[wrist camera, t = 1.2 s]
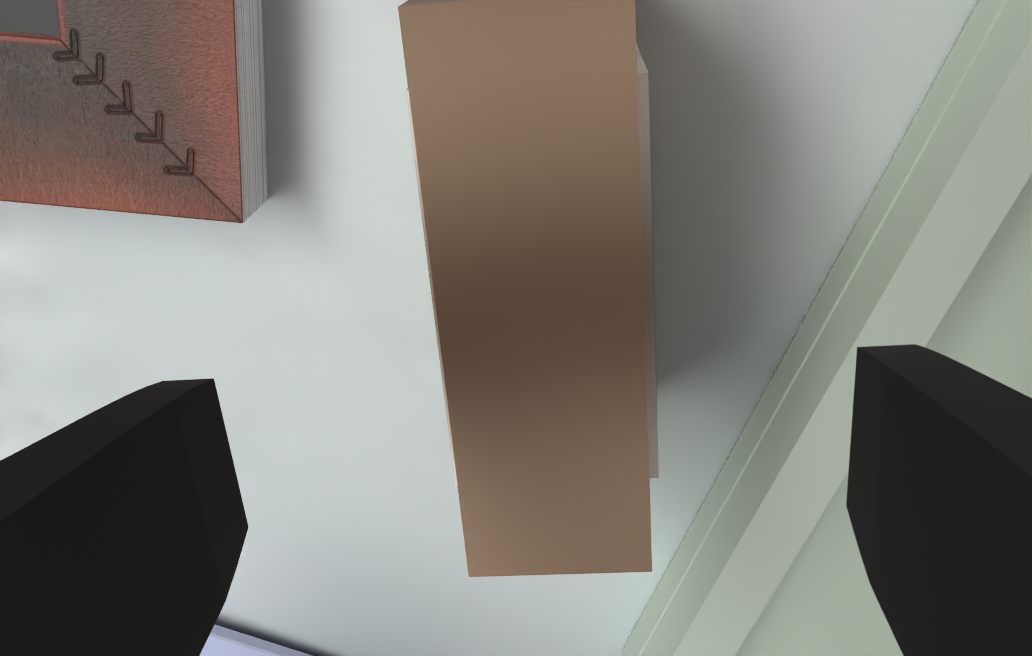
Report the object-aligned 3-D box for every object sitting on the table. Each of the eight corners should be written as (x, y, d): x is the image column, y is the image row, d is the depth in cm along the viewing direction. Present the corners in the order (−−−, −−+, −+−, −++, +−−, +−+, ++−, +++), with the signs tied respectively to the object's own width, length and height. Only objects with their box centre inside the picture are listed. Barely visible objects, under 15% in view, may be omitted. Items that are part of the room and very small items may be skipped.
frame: (641, 396, 21) (663, 571, 16) (487, 403, 21) (457, 577, 16) (627, -42, 17) (650, -14, 12) (442, -26, 18) (382, 8, 12)
